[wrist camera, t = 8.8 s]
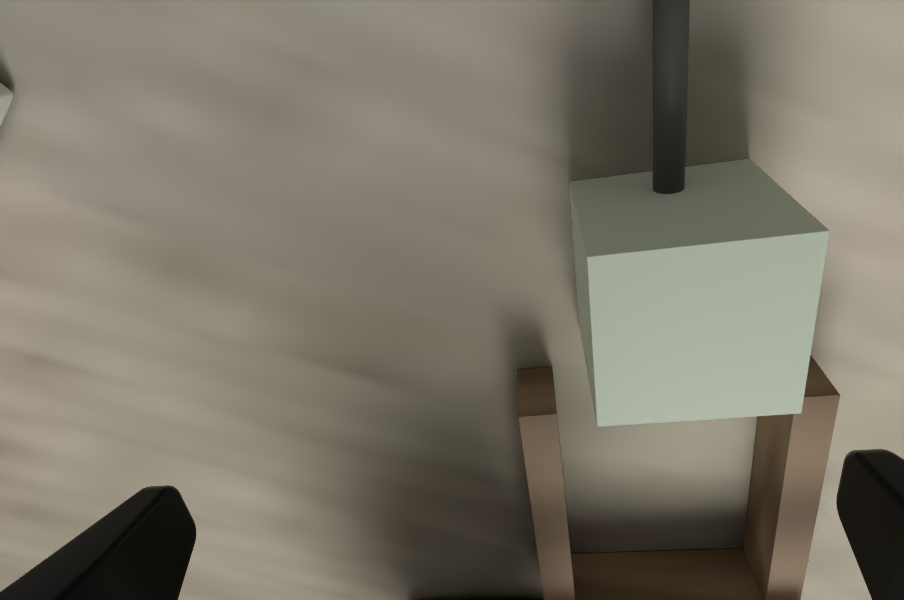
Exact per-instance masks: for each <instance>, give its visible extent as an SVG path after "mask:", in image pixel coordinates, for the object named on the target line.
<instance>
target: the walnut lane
mask: <svg viewBox="0 0 904 600" xmlns="http://www.w3.org/2000/svg"><path fill="white" fill-rule="evenodd" d="M839 398H840V394H839V393H838V392H837V390H836V389H835V387H834V386H833V385H832V383H831V382H830V381H829V379H828V378H827V377H826V375H825V374H824V372H823V371H822V370H821V368H820V367H819V366H818V364H817V363H816V362H815V360H814V359H813V358H812V356H811V355H810V361H809V367H808V374H807V380H806V386H805V393H804V399H803V406H802V412H801V413H800V414H785V415H770V416H758V420H757V429H756V438H755V446H754V455H753V464H752V473H751V482H750V491H749V500H748V509H747V518H746V527H745V536H744V545H743V548H738V549H708V550H678V551H648V552H618V553H588V554H571V552H570V542H569V532H568V522H567V512H566V502H565V492H564V482H563V472H562V462H561V452H560V442H559V432H558V422H557V412H556V402H555V392H554V382H553V372H552V367H540V368H528V369H518V418H519V425H520V432H521V439H522V446H523V454H524V461H525V468H526V475H527V482H528V489H529V496H530V503H531V510H532V518H533V525H534V532H535V539H536V546H537V553H538V560H539V567H540V574H541V582H542V589H543V596H544V600H800V599H801V593H802V588H803V583H804V578H805V573H806V568H807V562H808V557H809V552H810V547H811V542H812V537H813V532H814V526H815V521H816V516H817V511H818V506H819V501H820V496H821V490H822V485H823V480H824V475H825V470H826V465H827V460H828V454H829V449H830V444H831V439H832V434H833V429H834V423H835V418H836V413H837V408H838V403H839Z"/></svg>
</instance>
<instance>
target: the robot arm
mask: <svg viewBox="0 0 904 600" xmlns="http://www.w3.org/2000/svg"><path fill="white" fill-rule="evenodd" d="M837 510H838V514H839V517H840V520H841V523H842V525H843V528H844V530H845V533H846V535H847V538H848V540H849V543H850V545H851V548H852V550H853V553H854V555H855V558H856V560H857V563H858V565H859V568H860V570H861V573H862V575H863V578H864V580H865V583H866V585H867V588H868V590H869V593H870V595H871V598H872V600H904V459H902V458H901V457H899V456H897V455H896V454H894V453H892V452H890V451H887V450H883V449H872V450H854V451H851V452H849V453H848V454H847V455H846V457H845V460H844V464H843V469H842V474H841V478H840V483H839V488H838V493H837ZM195 540H196V526H195V523H194V520H193V518H192V516H191V514H190V512H189V510H188V508H187V506H186V504H185V502H184V501H183V498H182V497H181V495H180V493H179V491H178V490H177V489H176V488H175V487H173V486H151V487H146V488H144V489H142V490H140V491H139V492H137V493H136V494H135V495H133V496H132V497H131V498H129V499H128V500H126V501H125V502H124V503H122V504H121V505H120V506H118V507H117V508H115V509H114V510H113V511H111V512H110V513H108V514H107V515H106V516H104V517H103V518H102V519H100V520H99V521H97V522H96V523H95V524H93V525H92V526H91V527H89V528H88V529H86V530H85V531H84V532H82V533H81V534H80V535H78V536H77V537H75V538H74V539H73V540H71V541H70V542H69V543H67V544H66V545H64V546H63V547H62V548H60V549H59V550H58V551H56V552H55V553H53V554H52V555H51V556H49V557H48V558H47V559H45V560H44V561H42V562H41V563H40V564H38V565H37V566H36V567H34V568H33V569H31V570H30V571H29V572H27V573H26V574H24V575H23V576H22V577H20V578H19V579H18V580H16V581H15V582H13V583H12V584H11V585H9V586H8V587H7V588H5V589H4V590H2V591H1V592H0V600H178V597H179V593H180V590H181V587H182V584H183V580H184V577H185V574H186V570H187V567H188V564H189V561H190V557H191V554H192V551H193V547H194V544H195ZM508 600H541V599H508Z"/></svg>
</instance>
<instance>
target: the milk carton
mask: <svg viewBox="0 0 904 600" xmlns="http://www.w3.org/2000/svg"><path fill="white" fill-rule="evenodd" d="M12 99H13V92H12V91H11V90H9V89H8V88H7V87H5V86H4V85H3V84H1V83H0V126H1V124H2V122H3V120H4V118H5V115H6V113H7V111H8V109H9V106H10V104H11V102H12Z"/></svg>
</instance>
